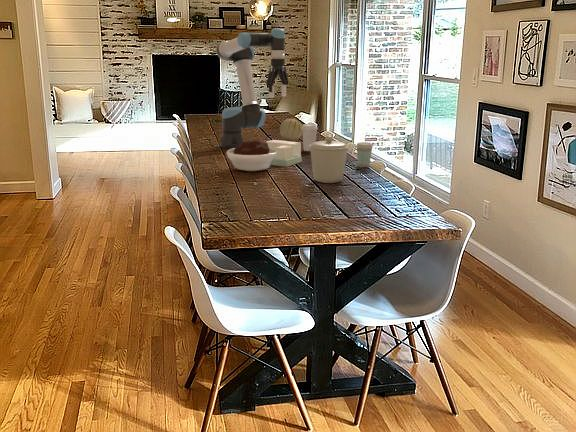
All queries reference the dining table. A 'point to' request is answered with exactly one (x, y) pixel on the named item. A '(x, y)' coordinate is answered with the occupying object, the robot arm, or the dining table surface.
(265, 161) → the white serving bowl
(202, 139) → the dining table surface
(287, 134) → the cantaloupe
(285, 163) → the stub tray
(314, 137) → the coffee cup
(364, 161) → the coffee cup
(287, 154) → the stub
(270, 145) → the ticket bar
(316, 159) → the canister
